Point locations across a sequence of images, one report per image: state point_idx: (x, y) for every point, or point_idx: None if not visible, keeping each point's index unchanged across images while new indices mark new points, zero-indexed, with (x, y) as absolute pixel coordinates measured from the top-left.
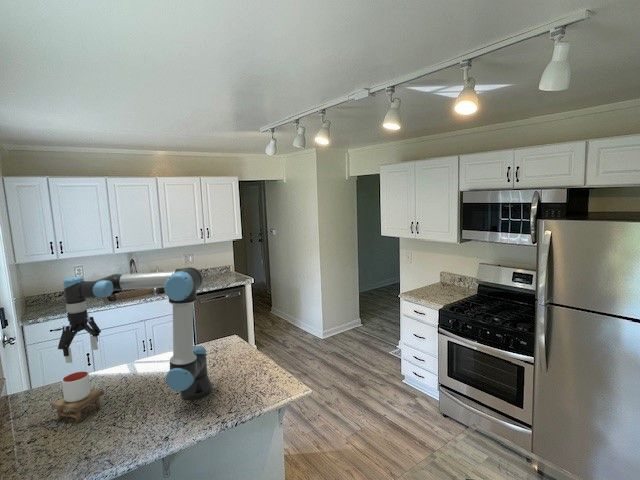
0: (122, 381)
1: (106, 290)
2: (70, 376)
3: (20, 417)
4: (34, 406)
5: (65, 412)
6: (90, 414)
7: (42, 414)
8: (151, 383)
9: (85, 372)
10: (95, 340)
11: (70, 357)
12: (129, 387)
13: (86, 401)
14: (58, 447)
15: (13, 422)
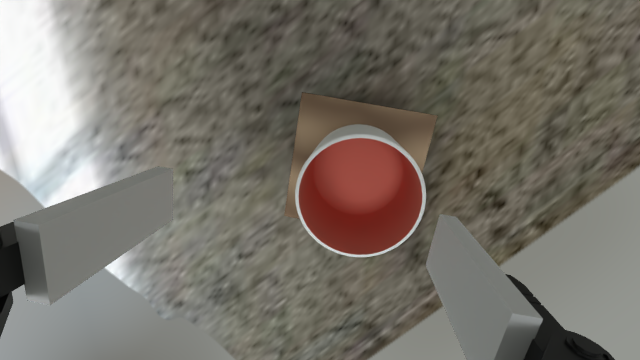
0: (150, 143)
1: None
2: (332, 242)
3: (372, 320)
4: (317, 322)
5: None
6: None
7: (358, 271)
8: (143, 6)
9: (301, 181)
10: (91, 204)
11: (475, 241)
12: (184, 85)
13: (389, 107)
14: (542, 88)
15: (395, 320)
